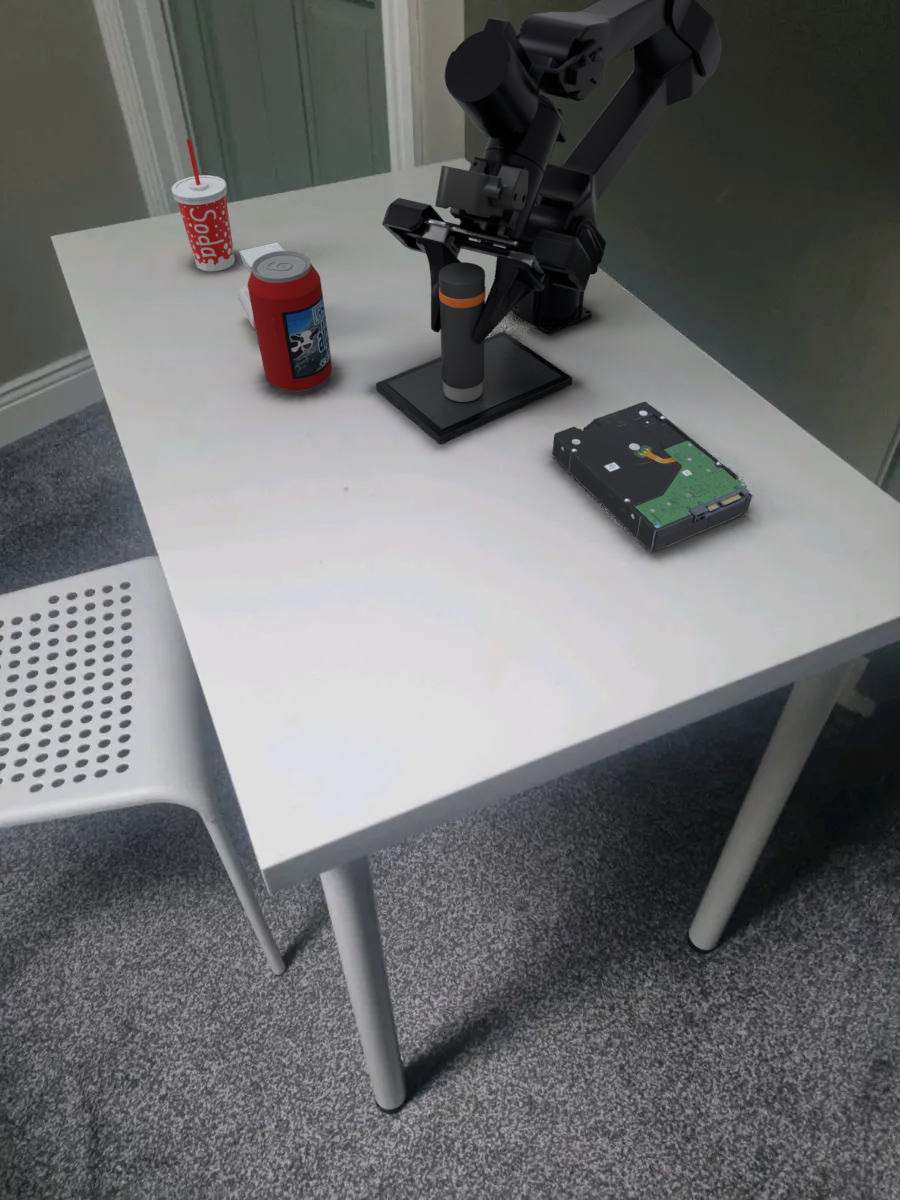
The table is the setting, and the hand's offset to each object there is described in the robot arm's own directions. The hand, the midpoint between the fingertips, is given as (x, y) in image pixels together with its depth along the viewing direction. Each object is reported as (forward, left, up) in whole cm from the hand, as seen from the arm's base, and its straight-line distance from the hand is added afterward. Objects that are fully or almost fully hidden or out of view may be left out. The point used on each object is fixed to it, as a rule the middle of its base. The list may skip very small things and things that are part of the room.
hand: (454, 336), depth 81 cm
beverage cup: (+6, -42, -8) cm, 43 cm away
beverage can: (+10, -14, -8) cm, 18 cm away
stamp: (+7, -24, -8) cm, 26 cm away
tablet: (-3, -2, -8) cm, 8 cm away
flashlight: (-1, -1, -7) cm, 7 cm away
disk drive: (-6, +19, -8) cm, 22 cm away
